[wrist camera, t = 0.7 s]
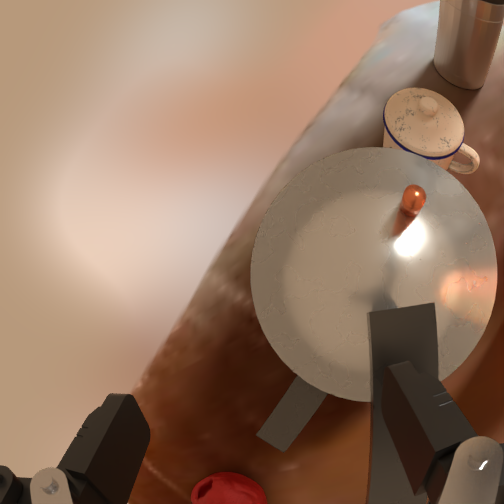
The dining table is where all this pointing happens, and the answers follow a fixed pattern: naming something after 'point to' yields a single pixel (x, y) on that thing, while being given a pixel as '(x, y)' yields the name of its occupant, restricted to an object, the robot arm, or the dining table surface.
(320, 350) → the cooker lid
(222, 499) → the pomegranate
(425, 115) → the teacup with lid
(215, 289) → the dining table surface
